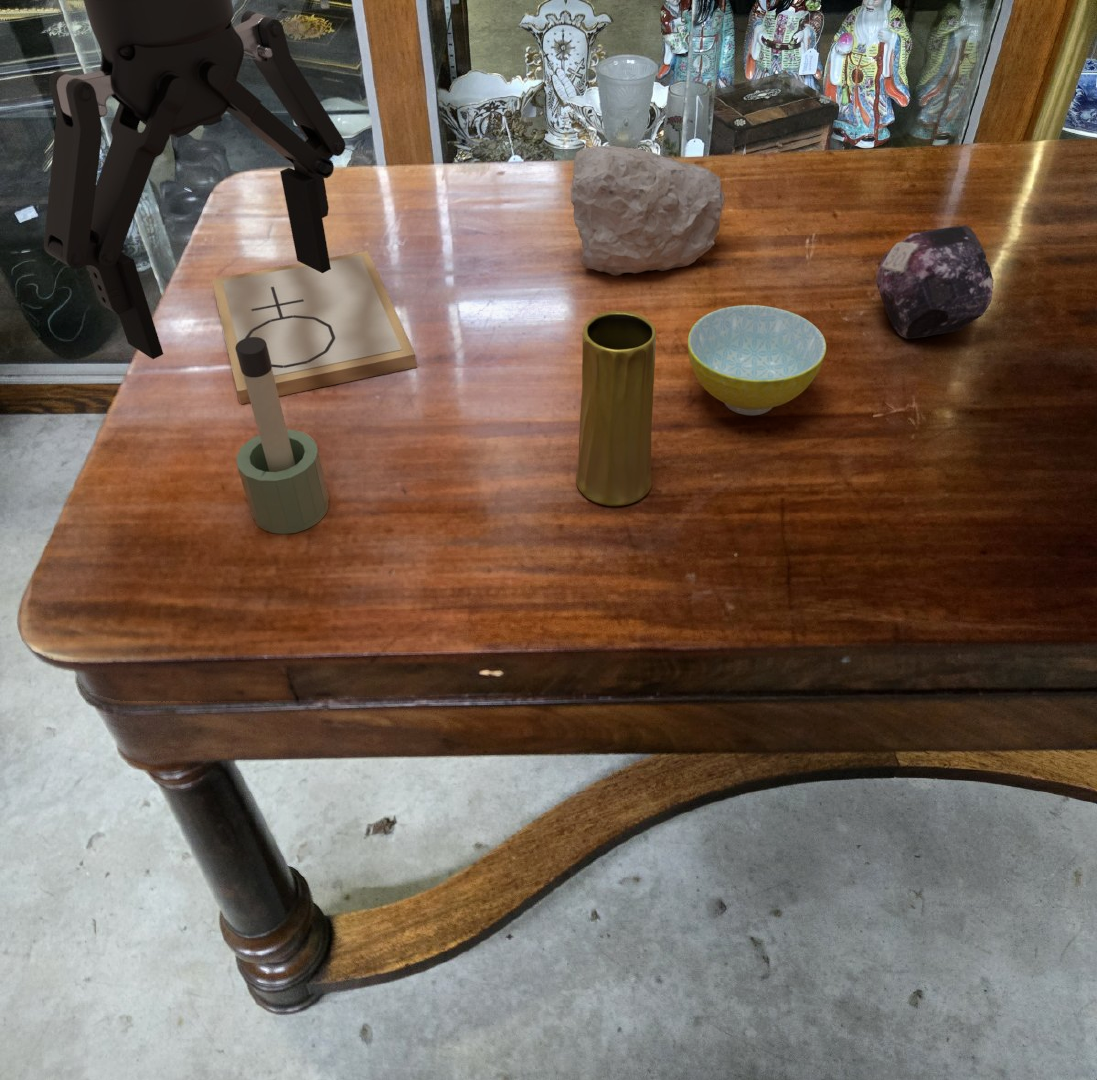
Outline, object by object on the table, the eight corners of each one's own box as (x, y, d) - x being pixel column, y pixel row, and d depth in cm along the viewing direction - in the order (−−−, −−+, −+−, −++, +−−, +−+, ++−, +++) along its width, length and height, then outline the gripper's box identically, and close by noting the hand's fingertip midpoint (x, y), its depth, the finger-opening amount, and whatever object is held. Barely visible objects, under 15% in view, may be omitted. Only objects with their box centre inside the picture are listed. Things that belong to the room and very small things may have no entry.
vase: (603, 448, 86) (607, 298, 76) (666, 475, 84) (679, 324, 74) (561, 488, 83) (559, 336, 73) (625, 518, 80) (632, 365, 70)
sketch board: (240, 404, 91) (236, 389, 90) (215, 292, 105) (211, 277, 104) (417, 367, 95) (415, 352, 94) (370, 263, 109) (368, 248, 107)
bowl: (661, 378, 93) (665, 318, 89) (775, 352, 96) (784, 293, 92) (717, 453, 86) (724, 392, 81) (839, 423, 88) (853, 362, 84)
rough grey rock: (714, 209, 112) (682, 77, 101) (752, 249, 105) (721, 113, 94) (579, 275, 112) (533, 151, 101) (608, 319, 105) (562, 192, 95)
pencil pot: (258, 542, 79) (241, 488, 75) (247, 492, 83) (231, 439, 79) (335, 523, 80) (324, 469, 77) (321, 475, 84) (309, 422, 81)
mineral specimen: (875, 265, 103) (939, 185, 95) (960, 329, 102) (1031, 253, 94) (840, 309, 97) (905, 227, 89) (930, 377, 96) (1003, 300, 88)
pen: (279, 513, 80) (237, 356, 70) (275, 496, 82) (233, 339, 72) (306, 507, 81) (268, 349, 71) (302, 490, 82) (263, 333, 72)
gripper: (-51, 25, 45) (98, 414, 60) (373, -90, 59) (410, 251, 74) (-128, -10, 49) (31, 366, 64) (288, -111, 62) (340, 218, 77)
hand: (234, 305), depth 69 cm, fingers open, 13 cm apart
